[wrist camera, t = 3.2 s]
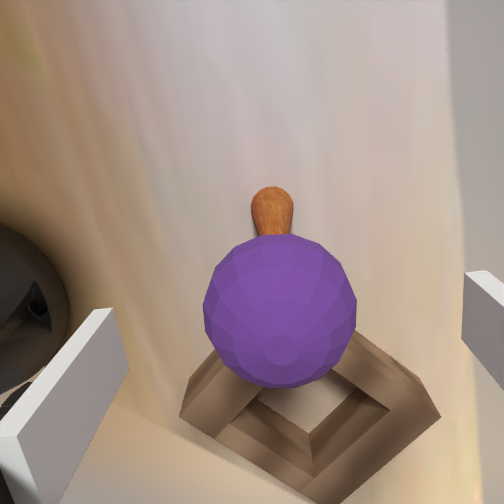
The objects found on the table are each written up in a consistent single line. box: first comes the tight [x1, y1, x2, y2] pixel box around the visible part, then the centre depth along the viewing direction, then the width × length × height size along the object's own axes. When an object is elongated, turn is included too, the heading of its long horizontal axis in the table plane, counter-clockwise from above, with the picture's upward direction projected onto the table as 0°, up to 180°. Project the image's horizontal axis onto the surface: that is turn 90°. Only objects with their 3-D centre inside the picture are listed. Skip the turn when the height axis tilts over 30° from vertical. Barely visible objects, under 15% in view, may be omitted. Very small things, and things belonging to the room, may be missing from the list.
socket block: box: [179, 330, 441, 504], centre depth 36 cm, size 16×13×5 cm
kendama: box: [203, 187, 357, 388], centre depth 23 cm, size 6×6×20 cm
